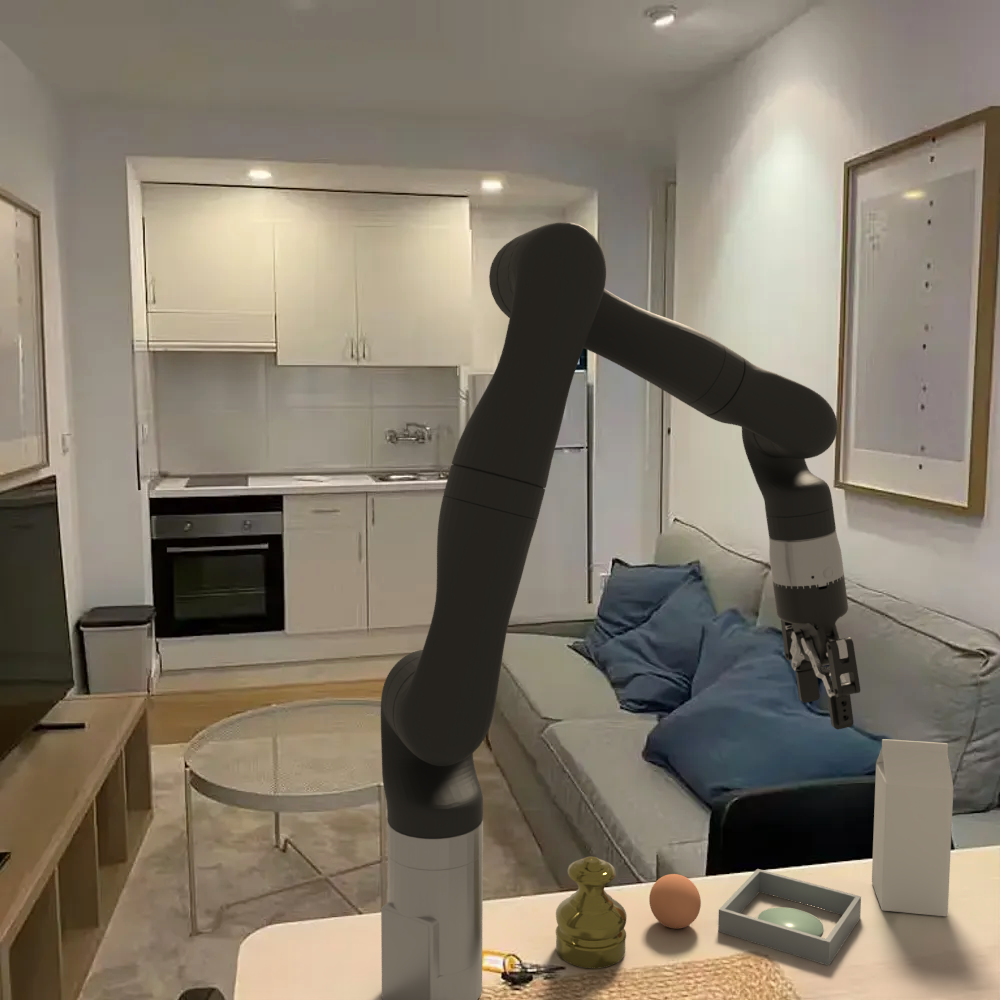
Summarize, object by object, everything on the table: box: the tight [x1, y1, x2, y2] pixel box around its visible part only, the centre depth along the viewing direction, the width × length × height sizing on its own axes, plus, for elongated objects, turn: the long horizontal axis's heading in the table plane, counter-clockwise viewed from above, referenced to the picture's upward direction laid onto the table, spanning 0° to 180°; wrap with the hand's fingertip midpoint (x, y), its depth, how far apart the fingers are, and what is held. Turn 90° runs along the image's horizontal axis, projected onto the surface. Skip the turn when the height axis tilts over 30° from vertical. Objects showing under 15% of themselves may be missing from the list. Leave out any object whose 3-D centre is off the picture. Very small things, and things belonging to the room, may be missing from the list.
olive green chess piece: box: [555, 856, 628, 969], centre depth 106 cm, size 7×7×10 cm
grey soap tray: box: [717, 868, 862, 966], centre depth 112 cm, size 12×12×2 cm
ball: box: [648, 873, 702, 929], centre depth 111 cm, size 6×6×6 cm
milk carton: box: [871, 738, 955, 917], centre depth 117 cm, size 7×7×19 cm
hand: (825, 713), depth 112 cm, fingers open, 8 cm apart
